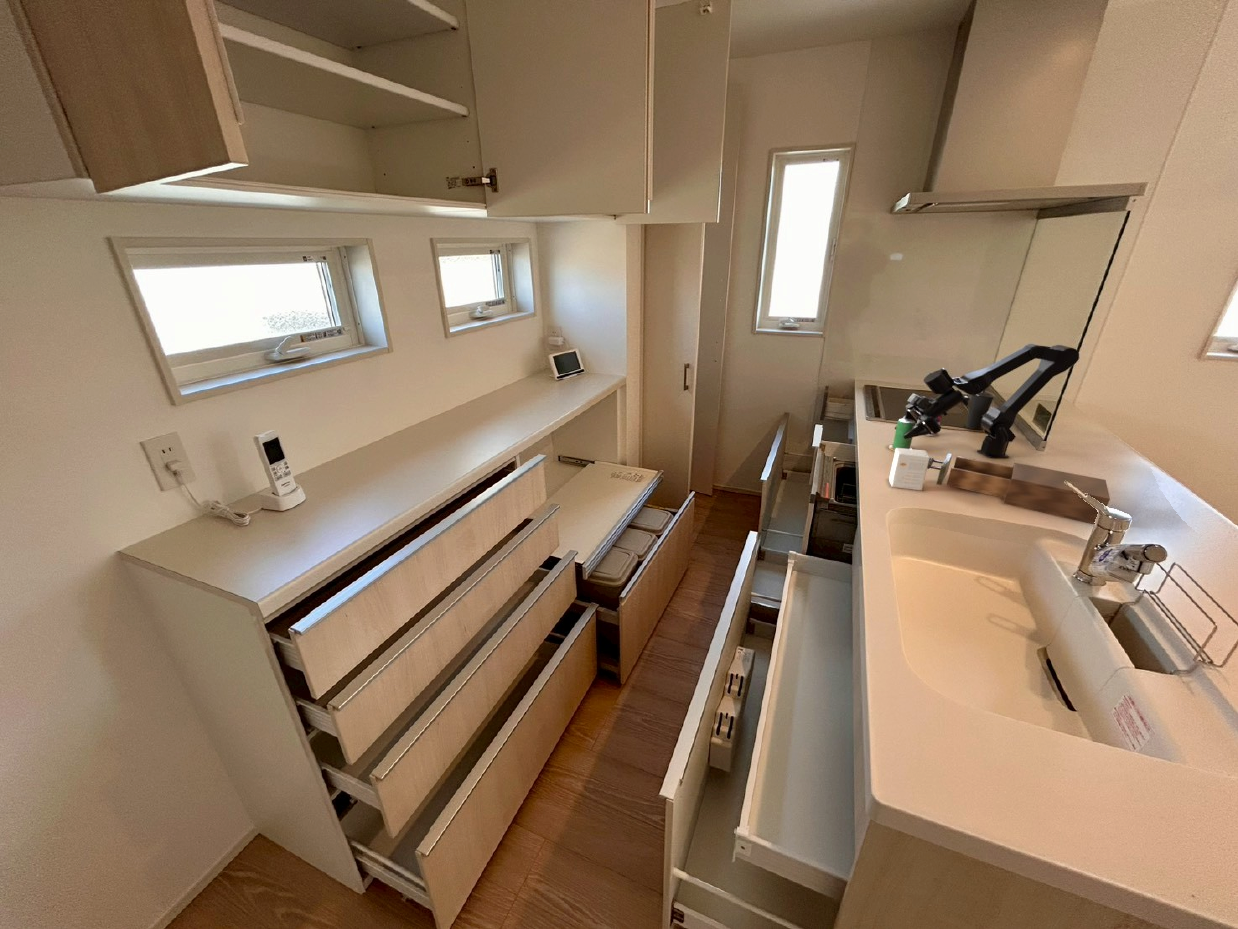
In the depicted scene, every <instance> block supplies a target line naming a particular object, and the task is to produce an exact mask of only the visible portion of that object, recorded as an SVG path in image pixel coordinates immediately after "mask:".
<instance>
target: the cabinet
mask: <svg viewBox="0 0 1238 929" xmlns="http://www.w3.org/2000/svg"><path fill="white" fill-rule="evenodd" d="M1012 467H1013V473H1012V478H1011V482H1010V485H1009V488H1008V491H1007V494H1006V497H1005V498H1003V499H1004V500H1003V504H1004V505H1009V506H1014V507H1017V508H1022V509H1027V510H1031V511H1035V512H1039V513H1044V514H1048V515H1053V516H1057V517H1062V518H1066V519H1071V520H1075V521H1079V522H1083V523H1086V524H1087V523H1088V524H1092V525H1095V524H1094V522H1095V519H1096V517H1097V514H1098V512H1097V510H1096V509H1095V508H1093V507H1092V506H1091V505H1090V504H1088V503H1087V502H1085V501H1084V500H1083V498H1080V497H1079V496H1078V494H1077V493H1074V492H1073V490H1071V489H1070V488H1069V487H1067V486H1066V485H1065V484H1064V483H1063V482H1064V481H1065V480H1066V481H1068V482H1072V483H1073V484H1074V485H1075V486H1076V487H1078V488H1079V489H1081V490H1083V492H1085V493H1088V495H1090V496H1091V497H1093V498H1095V499H1096V500H1098V501H1099V502H1100V503H1103V504H1104V505H1105V506H1107V507H1108V505H1109V503H1110V502H1111V501H1110V500H1111V498H1110V497H1111V496H1110V493H1109V487H1108V484H1107V480H1106V479H1103V478H1097V477H1092V476H1088V475H1081V474H1076V473H1071V472H1068V471H1067V472H1066V471H1062V470H1054V469H1051V468H1047V467H1046V468H1045V467H1040V466H1034V465H1029V464H1024V463H1019V462H1014V463H1013V466H1012Z"/></svg>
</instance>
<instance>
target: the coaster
mask: <svg viewBox="0 0 1238 929" xmlns="http://www.w3.org/2000/svg"><path fill="white" fill-rule="evenodd" d="M892 446H893V444H890V445H888V450H890V451H893V452H895V449H894V448H893V447H892ZM910 449H913V448H912V447H910Z"/></svg>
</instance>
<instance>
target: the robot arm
mask: <svg viewBox="0 0 1238 929" xmlns="http://www.w3.org/2000/svg"><path fill="white" fill-rule="evenodd" d="M1080 358H1081V357H1080V352H1079V350H1078V349H1076V348H1074V347H1070V346H1067V345H1062V344H1056V345H1055V344H1054V345H1052V346H1046V345H1039V344H1034V343H1028V344H1025V345H1024V346H1023V347H1022V348H1020V349H1019V350H1016V351H1014V352H1013V353H1010V354H1009V355H1007V356H1006V357H1003V358H1001V359H1000V360H998V361H996V362H994V363H993V364H991V365H988V366H987V367H984V368H982V369H979V370H978V369H976V370H974V371H971V372H969V373H966V374H963V375H961V376H959V377H951V375H950V374H949V372H948V371H947V369H946V368H944V367H942V368H940V369H939V370H935V371H932V372H929V374H927V375H926V376H925V377H924V378H923V382H924V383H925V385H926V386H927V387H928V388H929V389H930V391H931V392H932V394H934V395H937V396H936V397H935V398H933V397H929V398H928V397H926V396H924V395H923V396H920V395H918V394H916V393H914V392H913V393H911V395H910V396H909V397H908V399H907V400H906V402H907V403H908V404H906V405H905V408H904V415H903V417H902V418H901V419H910V420H914V421H915V422H916V425H915V426H914V427H913V428H912V429H911V430H910V431H908V432H907V433H906V434H905V435H904V436H903V437H904V438H905V439H907V438H912V437H913V438H916V437H922V436H927V435H928V434H930V435H931V434H932V433H934V434H937V435H938V433H940V432H941V429H942V426H941V424H940V425H939V424H938V423H937V422H936V421H935V419H937V418H938V417H940V416H941V415H942V416H943V417H946V416H947V415H948V413H947V412H949V411H950V410H952V409H953V408H955V407H957V406H958V405H959V404H962V405H963V406H965V407H968V406H969V400H970V397H969V396H967V395H970V396H971V395H977V394H979V393H981V392H982V391H984V390H985V391H986V390H987V389H989V387H991V385H992V384H993V382H995V381H996V380H998V379H1000V378H1001V377H1003V376H1005V375H1007V374H1008V373H1011V372H1013V371H1014V370H1017V369H1018V368H1020V367H1022V366H1024V365H1026V364H1028V363H1030V362H1031V361H1033V360H1035V359H1038V360H1040V361H1039V364H1038V367H1037V369H1036V370H1035V371H1034V372H1033V373H1032V374H1031V375H1030V376H1029V377H1028V378H1027V379H1026V380H1025V381H1024V382H1023V383H1022V385H1021V386H1020V387H1019V388H1018V389H1017V390H1016V391H1015V392H1013V394H1012V395H1011V396H1010V397H1008V399H1007V400H1006V401H1005V402H1004V403H1003V404H1002V405H1000V406H998V407H994V406H990V408H989V410H988V412H987V413H986V414H984V415H982V416H983V418H982V420H981V426H982V427H981V429H983V433H984V434H986V435H985V437H984V440H983V441H982V444H981V446H980V449H977V452H978V453H980V454H981V455H983V456H986V457H987V458H990V459H1002V458H1003V459H1004V458H1005V459H1009V458H1010V456H1009V455H1008V454H1007V451H1008V447H1009V445H1010V443H1013V441H1014V440H1015V439H1016V438H1017V436H1016V434H1015V433H1014V432H1013V431H1012V430H1011V428H1012V426H1013V425H1014V424H1015V421H1016V418H1017V415H1018V414H1019V412H1021V411H1022V410H1023V408H1024V407H1025V406H1026V405H1027V404H1028V403H1030V401H1031V400H1032V399H1033V398H1035V396H1036V395H1037V394H1038V393H1039V392H1040V391H1042V389H1043V388H1044V387H1045V386H1046V385H1047V384H1048V383H1049V382H1050V381H1051V380H1052V379H1053V378H1054V377H1056V376H1058V375H1060V374H1062V373H1065V372H1066V371H1068V370H1069V369H1070V368H1072V366H1074V365H1076V364H1077V363H1078V362H1079V360H1080ZM955 388H957V389H955ZM962 392H963V393H965V394H967V395H964V394H963V393H962ZM896 428H897V425H895V426H894V429H895V430H896ZM931 432H932V433H931ZM913 438H912V439H913Z"/></svg>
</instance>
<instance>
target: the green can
mask: <svg viewBox="0 0 1238 929" xmlns="http://www.w3.org/2000/svg"><path fill="white" fill-rule="evenodd" d="M916 424H917V423H916V422H915V421H914V420H910V419H902V418H899V419H898V420H897V424H896V426H897V428H896V429H895V432H894V437H893V442H892V445H893V446H892V447H893V448H894V449H896V448H904V449H910V448H911V446H912V441H913V438H914V437H912V438H907V439H905V438H904V437H903V436H904V435H905V434H906V433H907V432H908V431H910V430H911V429H912V428H913V427H914V426H916Z"/></svg>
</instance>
